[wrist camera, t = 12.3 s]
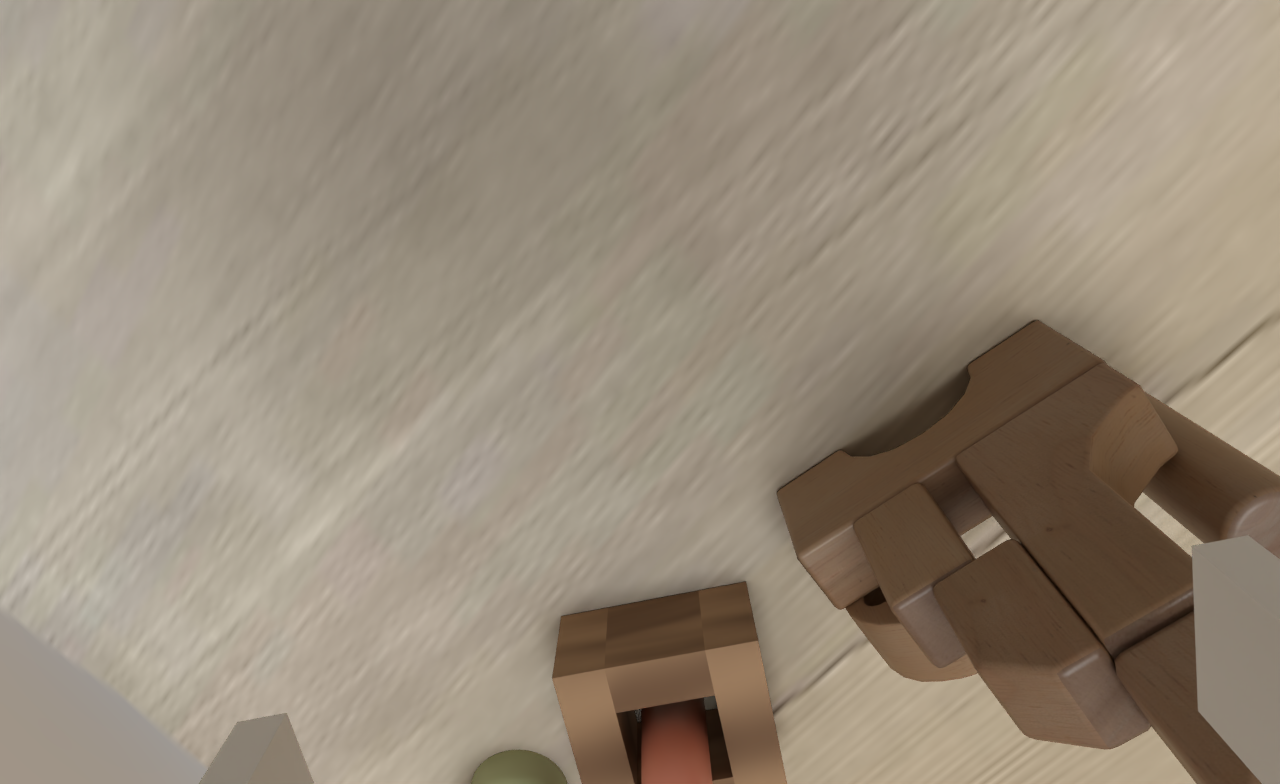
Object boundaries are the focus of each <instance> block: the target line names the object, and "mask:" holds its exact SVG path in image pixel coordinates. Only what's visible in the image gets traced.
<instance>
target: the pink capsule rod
mask: <svg viewBox="0 0 1280 784" xmlns="http://www.w3.org/2000/svg"><path fill="white" fill-rule="evenodd" d="M641 784H713V782H712V773H711V763H710V753H709V743H708V733H707V723H706V713H705V704H704V697H703V698H697V699H692V700H686V701H681V702H675V703H670V704H664V705H658V706H653V707H647V708H642V709H641Z"/></svg>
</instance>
